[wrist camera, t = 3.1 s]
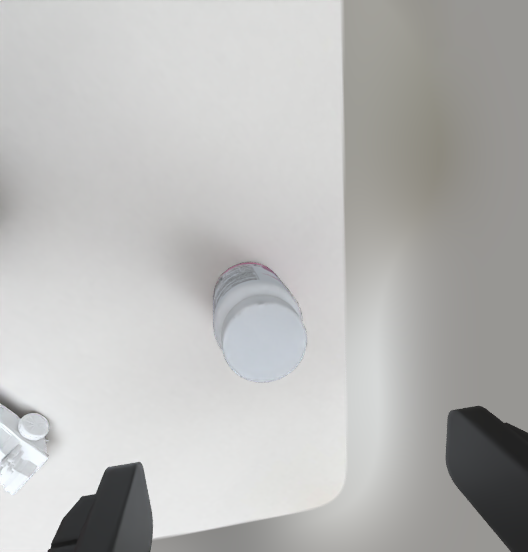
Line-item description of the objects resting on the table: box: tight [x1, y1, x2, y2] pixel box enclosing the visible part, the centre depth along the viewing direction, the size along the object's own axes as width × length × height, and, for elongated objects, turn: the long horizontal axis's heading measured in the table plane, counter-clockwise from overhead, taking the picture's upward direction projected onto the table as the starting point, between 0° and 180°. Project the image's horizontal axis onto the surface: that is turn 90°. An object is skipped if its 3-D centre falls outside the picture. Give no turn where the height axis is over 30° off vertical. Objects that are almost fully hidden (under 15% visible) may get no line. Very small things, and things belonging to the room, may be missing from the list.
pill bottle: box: [213, 262, 307, 382], centre depth 20 cm, size 5×5×8 cm
